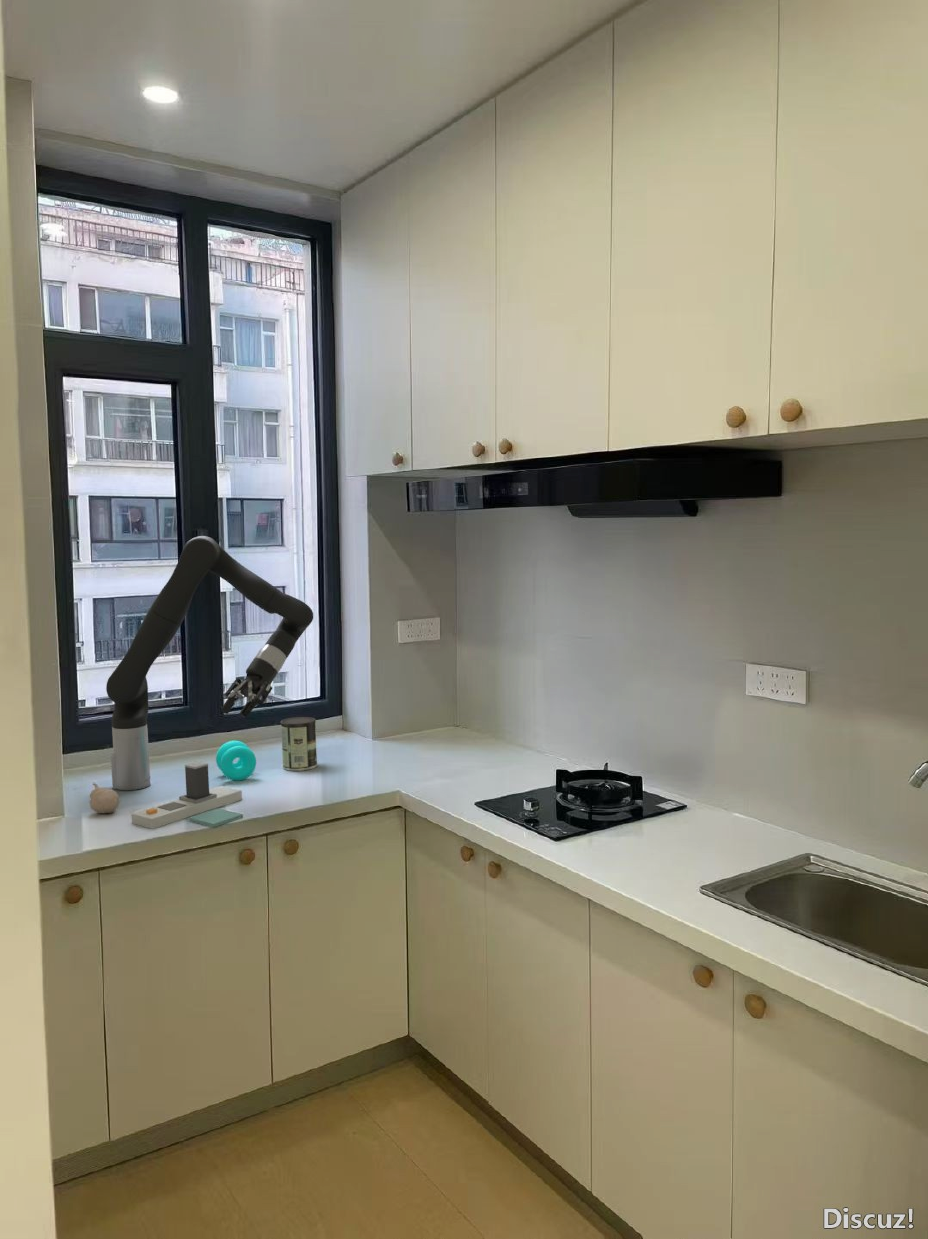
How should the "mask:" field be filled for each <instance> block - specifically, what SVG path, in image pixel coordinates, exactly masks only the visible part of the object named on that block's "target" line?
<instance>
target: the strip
mask: <svg viewBox="0 0 928 1239" xmlns="http://www.w3.org/2000/svg"><path fill="white" fill-rule="evenodd" d="M242 793H243V791H242V790H241V789H237V788H232V787H227V786H223V785H220V786H217V787H213V788H209V796H207V797H204V798H200V799H197V800H195V799H191V798H187V794H184V795H180V796H178V798H176V799H173V800H170V801H168V802H164V803H162V804H157V805H155V806H151V807H148V808H144V809H141V810H139V811H135V812H132V813H130V814H131V815H130V816H131V818H130V819H131V824H134V825H137V826H141V827H145V828H148V829H155V828H159V827H161V826H165V825H167V824H171V823H173V822H177V821H180V820H183V819H186V818H190V817H193V816H196V815H199V814H202V813H205V812H208V811H211V810H214V809H218V808H219V807H223V806H226V805H229V804H232V803H235V802H238V801H241V800H243V794H242Z"/></svg>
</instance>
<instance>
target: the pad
mask: <svg viewBox="0 0 928 1239" xmlns="http://www.w3.org/2000/svg"><path fill="white" fill-rule="evenodd" d="M243 815H244V814H243V813H239V812H236V811H231V810H228V809H224V808H219V807H217V808H214V809H211V810H208V811H205V812H202V813H199V814H196V815H193V816H189V817H188V818H189V822H191V823H196V824H201V825H203V826H204V825H205V826H208V827H211V828H212V827H213V828H217V827H218V826H221V825H224V824H227V823H230V822H233V821H235V820H239V819H242V818H243V817H244V816H243Z"/></svg>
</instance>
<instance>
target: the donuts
mask: <svg viewBox="0 0 928 1239" xmlns="http://www.w3.org/2000/svg"><path fill="white" fill-rule="evenodd" d="M236 759H238V760H237V761H236V762H234V760H236ZM215 762H216V764H217V765H216V766H217V767H218V769H219V770H220V771H221V772H222V774H223V776H224V777H226V778H227V779H228V780H230V781H235V782H238V781H244V780H246V779H248V778H249V777H250V776H252V774H253V773H254V771H255V770H256V765H257V757H256V755H255V753H254V752H253V751H252V750H251V749H250V748H249V746H248V745H246V743H244V742H242V741H239V740H229V741H227V742H226V743H225V742H224V743H223V744H222V745H221V746H220V747H219V749H217V752H216V756H215Z"/></svg>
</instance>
